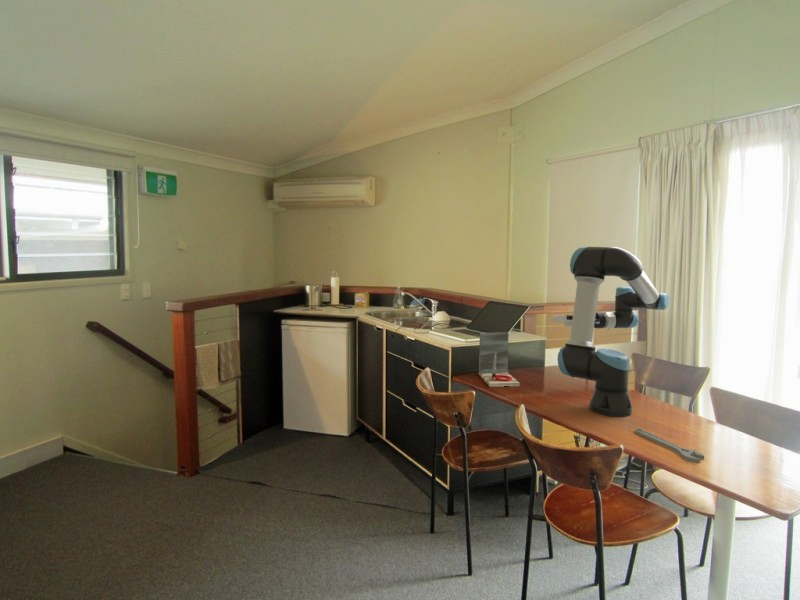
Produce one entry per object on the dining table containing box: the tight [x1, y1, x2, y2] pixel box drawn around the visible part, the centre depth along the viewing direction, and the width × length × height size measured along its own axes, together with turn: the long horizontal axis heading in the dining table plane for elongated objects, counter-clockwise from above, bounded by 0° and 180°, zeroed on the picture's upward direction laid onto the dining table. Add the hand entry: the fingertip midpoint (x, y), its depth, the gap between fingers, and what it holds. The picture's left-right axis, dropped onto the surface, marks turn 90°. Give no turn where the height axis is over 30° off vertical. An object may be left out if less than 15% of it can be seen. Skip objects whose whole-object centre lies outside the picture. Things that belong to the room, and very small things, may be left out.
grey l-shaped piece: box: [478, 331, 521, 388], centre depth 227 cm, size 22×14×22 cm, turn 3°
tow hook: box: [492, 352, 513, 381], centre depth 224 cm, size 8×13×9 cm
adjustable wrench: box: [634, 428, 705, 464], centre depth 151 cm, size 25×6×2 cm, turn 12°
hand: (558, 320), depth 218 cm, fingers open, 13 cm apart
